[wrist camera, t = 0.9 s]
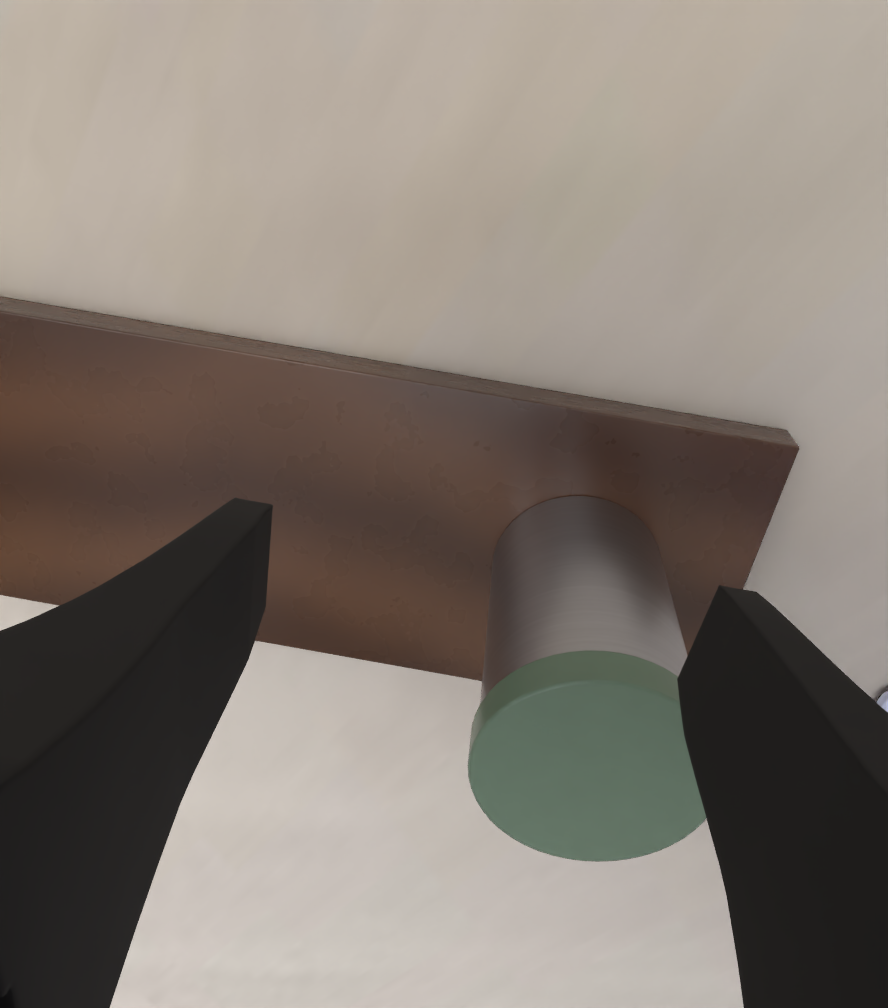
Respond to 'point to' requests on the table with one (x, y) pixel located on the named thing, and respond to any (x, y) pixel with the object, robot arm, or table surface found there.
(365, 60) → the table surface
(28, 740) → the robot arm
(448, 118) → the table surface
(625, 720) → the tin
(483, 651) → the board
